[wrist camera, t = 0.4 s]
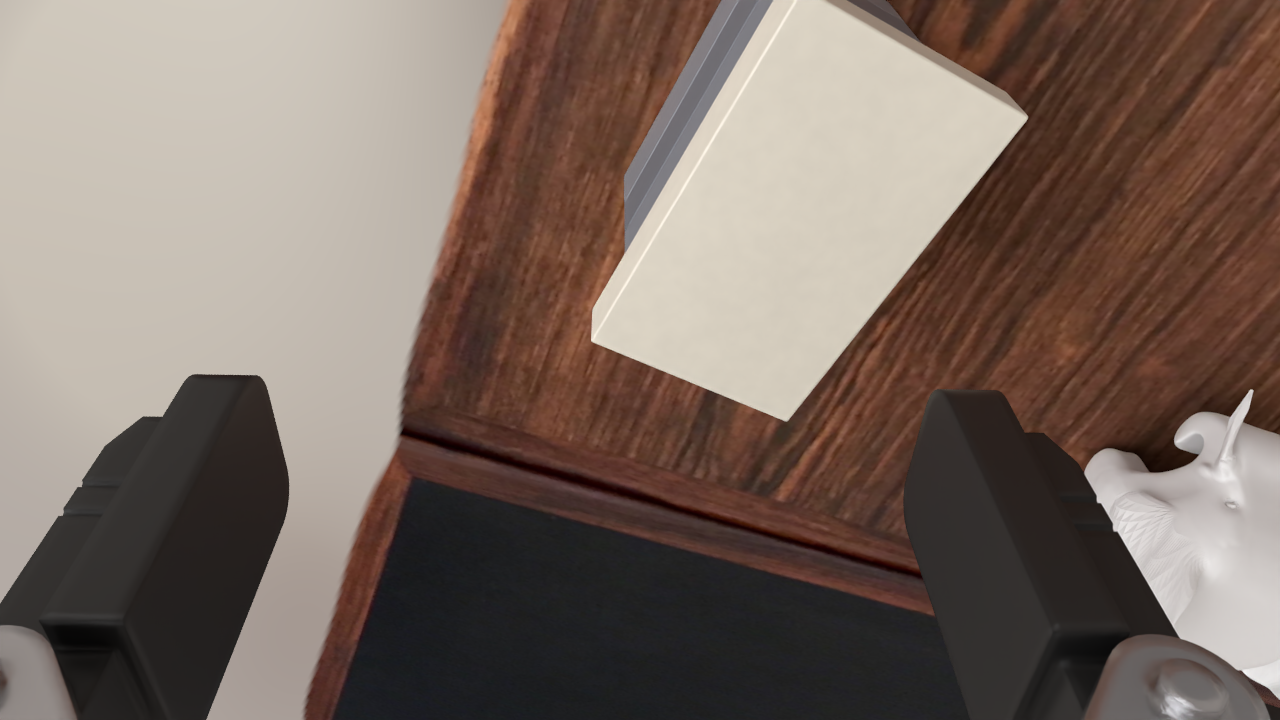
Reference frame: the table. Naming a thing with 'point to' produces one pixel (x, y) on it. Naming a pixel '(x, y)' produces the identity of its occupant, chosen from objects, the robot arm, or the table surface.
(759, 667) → the table surface
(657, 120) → the grey rectangular block
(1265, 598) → the elephant figurine
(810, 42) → the off-white rectangular slab
